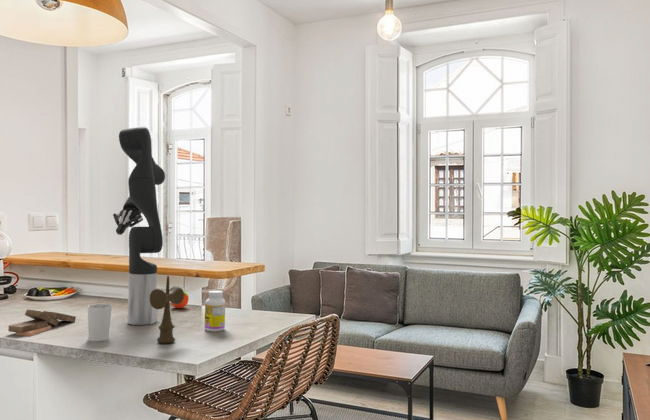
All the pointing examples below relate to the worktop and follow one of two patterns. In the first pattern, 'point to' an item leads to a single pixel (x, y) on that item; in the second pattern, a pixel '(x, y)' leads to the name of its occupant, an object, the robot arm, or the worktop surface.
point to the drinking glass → (99, 322)
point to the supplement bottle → (215, 312)
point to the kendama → (166, 309)
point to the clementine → (182, 301)
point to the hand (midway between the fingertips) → (118, 233)
